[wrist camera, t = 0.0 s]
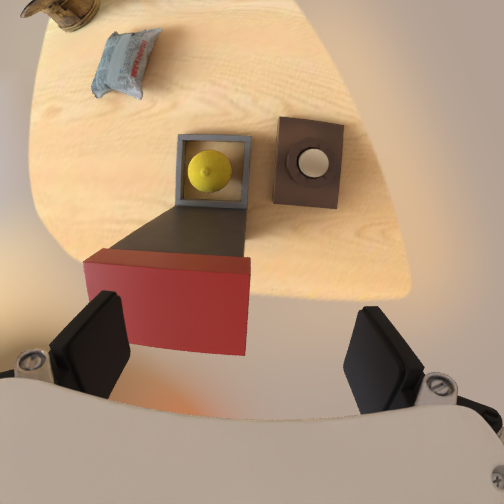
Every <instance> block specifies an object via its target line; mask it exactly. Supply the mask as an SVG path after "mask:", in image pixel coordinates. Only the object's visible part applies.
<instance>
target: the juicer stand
mask: <svg viewBox="0 0 504 504" xmlns="http://www.w3.org/2000/svg"><path fill="white" fill-rule="evenodd" d="M186 141H222V142H245V151H244V167H243V183H242V200H241V201H230V200H208V199H183V198H184V173H185V151H186ZM250 152H251V136H242V135H213V134H178V141H177V159H176V187H175V206H174V207H173V208H171V209H169V210H168V211H166V212H164V213H163V214H161V215H160V216H158V217H156V218H155V219H153V220H151V221H150V222H148V223H147V224H145V225H144V226H142V227H140V228H139V229H137V230H136V231H134V232H133V233H131V234H130V235H128V236H126V237H125V238H123V239H122V240H120V241H119V242H117V243H116V244H114V245H113V246H112V247H110V248H109V249H106V248H102V249H101V250H99V251H98V252H96V253H95V254H93V255H92V256H91V257H89V258H88V259H86V260H85V261H83V267H84V274H85V280H86V286H87V292H88V297H89V302H90V301H91V300H93V299H94V298H95V297H96V296H97V295H98V294H99V293H100V292H101V291H102V290H107V291H115V292H116V293H117V295H118V296H120V297H121V300H122V307H123V313H124V319H125V325H126V331H127V336H128V341H129V343H130V344H137V345H143V346H150V347H157V348H164V349H172V350H180V351H191V352H200V353H212V354H224V355H239V356H240V355H241V356H245V350H246V336H247V335H246V334H247V320H248V305H249V291H250V276H251V258H250V257H244V248H245V232H246V216H247V199H248V183H249V168H250Z"/></svg>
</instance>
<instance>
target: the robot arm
mask: <svg viewBox="0 0 504 504" xmlns="http://www.w3.org/2000/svg"><path fill="white" fill-rule="evenodd" d="M49 346H50V348H51V350H50V351H49V353H47V352H46V351H45V350H43V349H40V348H31V349H28V350H25V351H24V352H22V353H21V354H20V355H19V356H18V357H17V358H16V360H15V369H13V370H9V371H5V372H1V373H0V504H504V427H503V426H502V425H503V424H502V418H501V416H500V415H499V413H498V412H497V411H496V410H495V409H493V408H491V407H488V406H485V405H482V404H480V403H477V402H474V401H471V400H469V399H466V398H463V397H461V396H458V395H457V394H458V386H457V384H456V382H455V381H454V380H453V379H452V378H451V377H450V376H448V375H446V374H444V373H440V372H431V373H428V374H427V375H425V374H424V372H423V370H424V366H423V364H422V363H421V362H420V360H419V359H418V358H417V356H416V355H415V354H414V352H413V351H412V349H411V348H410V347H409V345H408V344H407V343H406V342H405V340H404V339H403V338H402V336H401V335H400V333H399V332H398V331H397V330H396V328H395V327H394V326H393V324H392V323H391V322H390V321H389V319H388V318H387V317H386V315H385V314H384V313H383V312H382V310H381V309H380V308H379V307H378V306H365V307H363V309H362V310H359V312H358V315H357V318H356V323H355V326H354V330H353V333H352V337H351V340H350V344H349V347H348V351H347V354H346V357H345V361H344V365H343V368H344V373H345V375H346V378H347V380H348V383H349V385H350V388H351V390H352V393H353V395H354V397H355V400H356V403H357V406H358V408H359V411H360V413H361V415H354V416H344V417H333V418H319V419H298V420H252V419H231V418H217V417H206V416H197V415H189V414H180V413H173V412H167V411H161V410H155V409H149V408H144V407H139V406H134V405H129V404H124V403H120V402H116V401H112V400H108V398H109V396H110V394H111V392H112V390H113V388H114V386H115V384H116V382H117V380H118V378H119V377H120V374H121V373H122V371H123V369H124V367H125V365H126V364H127V362H128V360H129V357H130V346H129V341H128V336H127V331H126V325H125V319H124V313H123V307H122V300H121V297H120V296H118V295H117V293H116V292H115V291H107V290H102V291H101V292H100V293H99V294H98V295H97V296H96V297H95V298H94V299H93V300H91V301H90V302H89V303H88V305H86V307H85V308H84V309H83V310H82V311H81V312H80V313H79V314H78V315H77V316H76V317H75V318H74V319H73V320H72V321H71V322H70V323H69V324H68V325H67V326H66V327H65V328H64V329H63V330H62V331H61V332H60V334H59V335H58V336H57V337H56V338H55V339H54V340H53V341H52V342H51V343H50V345H49Z"/></svg>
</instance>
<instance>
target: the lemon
mask: <svg viewBox="0 0 504 504" xmlns="http://www.w3.org/2000/svg"><path fill="white" fill-rule="evenodd" d="M231 174H232V168H231V164H230V162H229V160H228V158H227V157H226V156H225V155H224V154H222V153H221V152H219V151H215V150H205V151H202V152H200V153H198V154H197V155H195V156H194V157H193V158H192V160H191V161H190V164H189V166H188V178H189V180H190V182H191V184H192V185H193V186H194V187H195V188H196V189H198V190H200V191H202V192H207V193H211V192H216V191H219V190H221V189H222V188H224V187H225V186H226V185H227V183H228V182H229V180H230V177H231Z"/></svg>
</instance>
